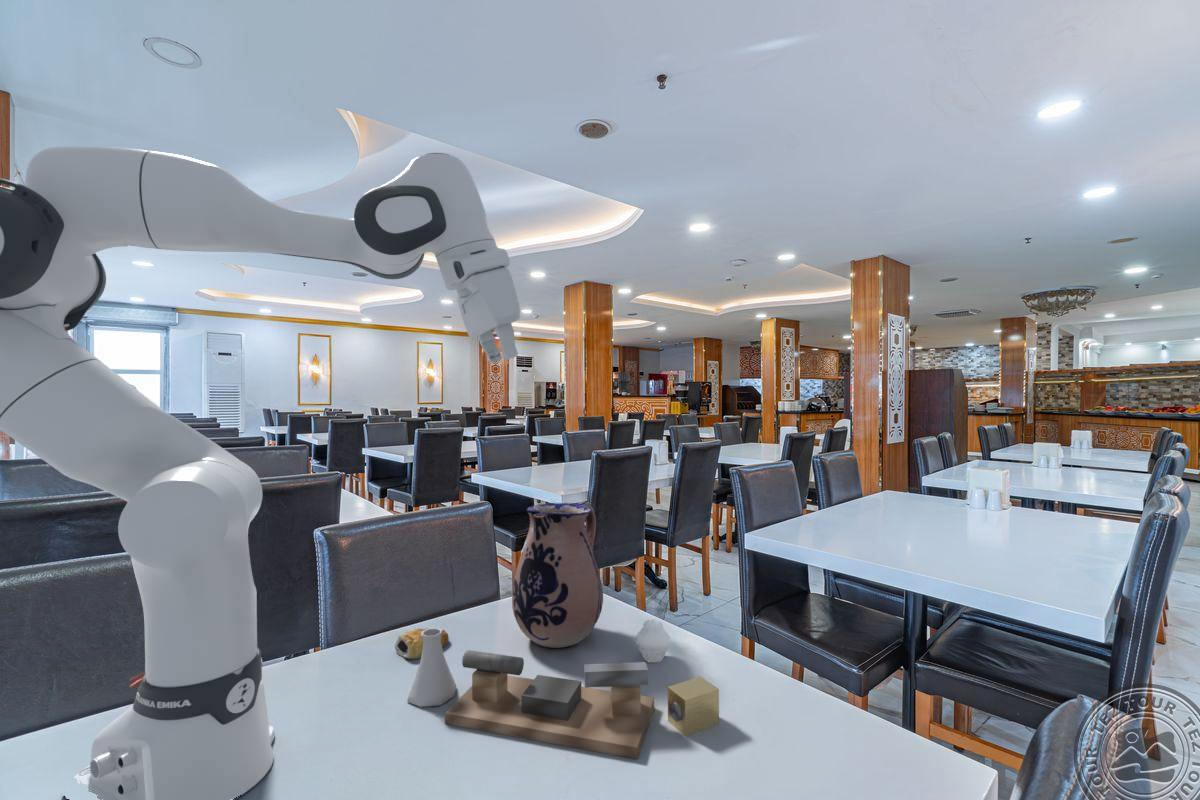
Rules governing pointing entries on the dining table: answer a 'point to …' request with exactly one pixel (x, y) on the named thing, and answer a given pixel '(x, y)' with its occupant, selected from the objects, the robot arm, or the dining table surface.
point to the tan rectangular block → (693, 705)
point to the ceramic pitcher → (558, 576)
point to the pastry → (414, 643)
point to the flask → (432, 673)
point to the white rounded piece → (653, 640)
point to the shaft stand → (557, 704)
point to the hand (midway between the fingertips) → (503, 360)
